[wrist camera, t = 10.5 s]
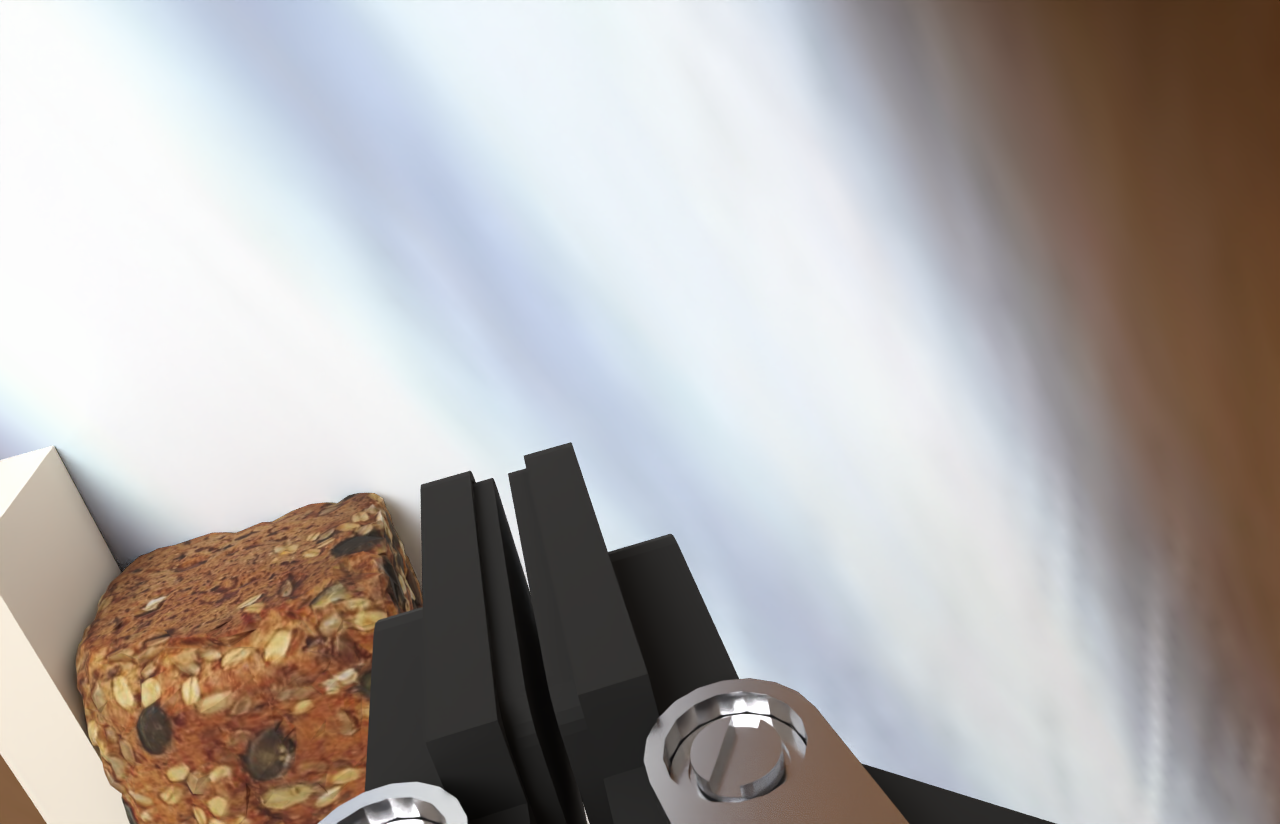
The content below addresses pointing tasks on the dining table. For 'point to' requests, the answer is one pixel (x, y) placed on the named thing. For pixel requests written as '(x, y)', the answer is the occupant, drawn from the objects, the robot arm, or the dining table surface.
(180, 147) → the dining table surface
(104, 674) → the bread
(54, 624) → the board
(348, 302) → the dining table surface
